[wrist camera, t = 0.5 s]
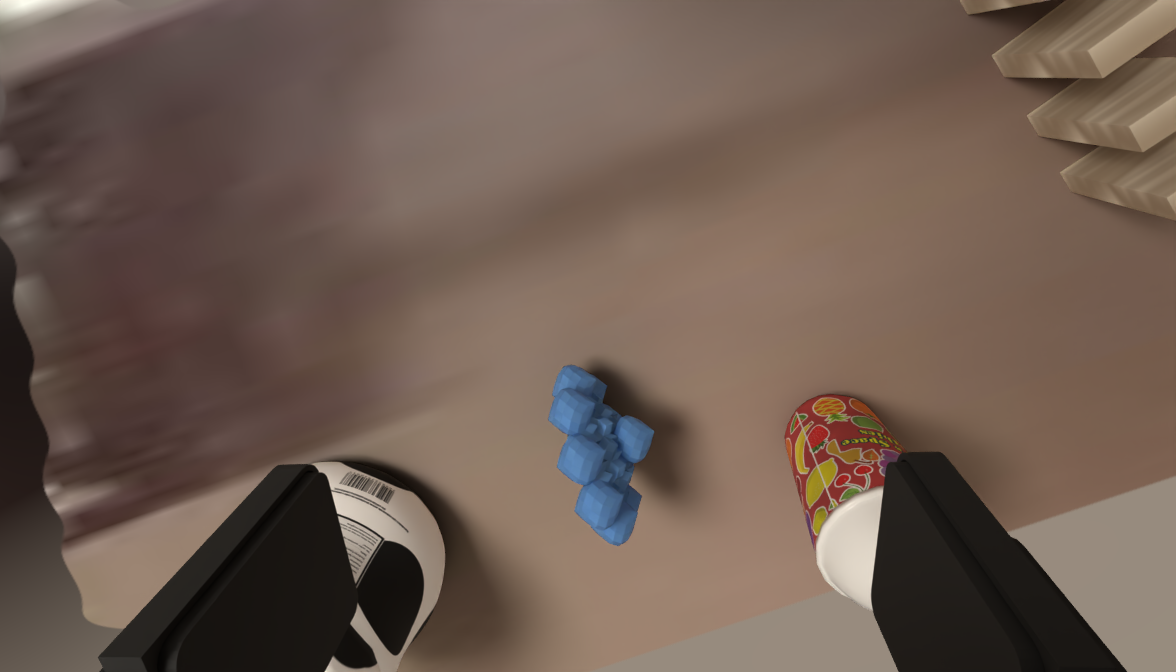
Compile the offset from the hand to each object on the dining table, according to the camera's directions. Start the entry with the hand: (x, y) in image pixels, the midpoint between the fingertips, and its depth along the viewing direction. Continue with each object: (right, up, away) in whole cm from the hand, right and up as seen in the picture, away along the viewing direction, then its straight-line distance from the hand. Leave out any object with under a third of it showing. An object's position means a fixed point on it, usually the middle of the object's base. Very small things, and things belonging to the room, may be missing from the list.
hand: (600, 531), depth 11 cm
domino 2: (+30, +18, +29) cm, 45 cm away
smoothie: (+18, -4, +39) cm, 43 cm away
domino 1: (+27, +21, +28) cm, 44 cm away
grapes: (+2, -2, +39) cm, 39 cm away
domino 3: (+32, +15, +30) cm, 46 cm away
